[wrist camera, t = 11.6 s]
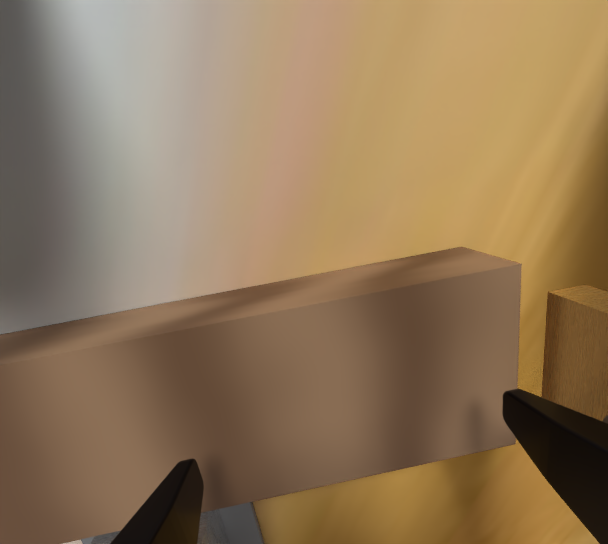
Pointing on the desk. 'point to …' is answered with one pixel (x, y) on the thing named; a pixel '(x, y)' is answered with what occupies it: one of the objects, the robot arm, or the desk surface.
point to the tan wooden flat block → (577, 350)
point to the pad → (234, 525)
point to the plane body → (256, 390)
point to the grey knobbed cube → (209, 536)
